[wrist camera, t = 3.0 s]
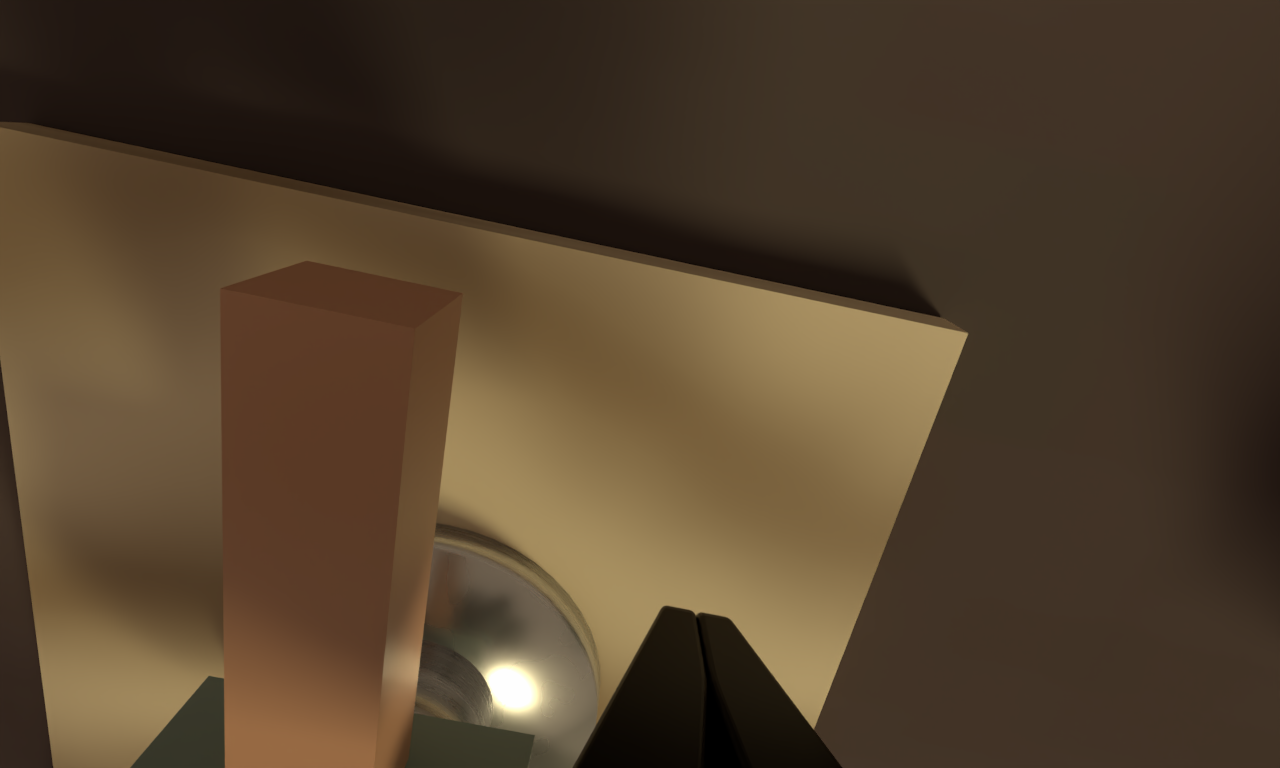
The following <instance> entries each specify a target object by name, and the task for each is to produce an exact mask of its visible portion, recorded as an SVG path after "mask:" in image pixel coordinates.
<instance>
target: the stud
mask: <svg viewBox="0 0 1280 768" xmlns="http://www.w3.org/2000/svg"><path fill="white" fill-rule="evenodd" d="M599 693H600V662H599V657H598V651H597V647H596V644H595V641H594V638H593V635H592V632H591V630H590V628H589V626H588V624H587V622H586V620H585V618H584V616H583V614H582V612H581V611H580V609H579V608H578V606H577V605H576V604H575V602H574V601H573V599H572V598H571V597H570V595H569V594H568V593H567V592H566V591H565V590H564V589H563V588H562V586H561V585H560V584H559V583H558V582H557V581H556V580H555V579H554V578H553V577H552V576H551V575H549V574H548V573H547V572H546V571H545V570H543V569H542V568H541V567H540V566H539V565H538V564H536V563H535V562H533V561H532V560H530V559H529V558H527V557H526V556H524V555H523V554H521V553H520V552H518V551H517V550H515V549H513V548H511V547H509V546H507V545H505V544H503V543H501V542H499V541H497V540H495V539H492V538H489V537H487V536H484V535H481V534H479V533H476V532H473V531H470V530H466V529H462V528H458V527H454V526H450V525H446V524H438V523H436V528H435V537H434V545H433V554H432V562H431V571H430V580H429V588H428V597H427V605H426V614H425V622H424V631H423V639H422V648H421V656H420V665H419V673H418V682H417V691H416V699H415V708H414V713H416V714H421V715H427V716H432V717H438V718H443V719H449V720H454V721H460V722H465V723H471V724H476V725H482V726H487V727H493V728H498V729H504V730H509V731H515V732H520V733H526V734H531V735H535V737H534V742H533V747H532V752H531V757H530V762H529V767H528V768H573V766H574V764H575V762H576V760H577V759H578V757H579V755H580V753H581V751H582V750H583V748H584V746H585V744H586V742H587V741H588V739H589V737H590V735H591V733H592V732H593V730H594V728H595V725H596V719H597V711H598V702H599Z"/></svg>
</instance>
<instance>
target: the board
mask: <svg viewBox="0 0 1280 768" xmlns="http://www.w3.org/2000/svg"><path fill="white" fill-rule="evenodd" d="M304 261H311V262H316V263H321V264H326V265H330V266H335V267H340V268H345V269H350V270H354V271H359V272H364V273H369V274H374V275H378V276H383V277H388V278H393V279H398V280H402V281H407V282H412V283H417V284H422V285H426V286H431V287H436V288H441V289H445V290H450V291H455V292H460V293H463V298H462V306H461V315H460V323H459V332H458V340H457V349H456V358H455V366H454V375H453V383H452V392H451V400H450V409H449V417H448V426H447V434H446V443H445V451H444V460H443V469H442V477H441V486H440V494H439V503H438V511H437V520H436V523H438V524H446V525H450V526H454V527H458V528H462V529H466V530H470V531H473V532H476V533H479V534H481V535H484V536H487V537H489V538H492V539H495V540H497V541H499V542H501V543H503V544H505V545H507V546H509V547H511V548H513V549H515V550H517V551H518V552H520V553H521V554H523V555H524V556H526V557H527V558H529V559H530V560H532V561H533V562H535V563H536V564H538V565H539V566H540V567H541V568H542V569H543V570H545V571H546V572H547V573H548V574H549V575H551V576H552V577H553V578H554V579H555V580H556V581H557V582H558V583H559V584H560V585H561V586H562V588H563V589H564V590H565V591H566V592H567V593H568V594H569V595H570V597H571V598H572V599H573V601H574V602H575V604H576V605H577V606H578V608H579V609H580V611H581V612H582V614H583V616H584V618H585V620H586V622H587V624H588V626H589V628H590V630H591V632H592V635H593V638H594V641H595V644H596V647H597V651H598V657H599V662H600V693H599V702H598V711H597V719H596V724H597V723H598V721H599V719H600V717H601V715H602V714H603V712H604V710H605V708H606V706H607V705H608V703H609V701H610V699H611V697H612V696H613V694H614V692H615V690H616V688H617V687H618V685H619V683H620V681H621V679H622V678H623V676H624V674H625V672H626V670H627V669H628V667H629V665H630V663H631V661H632V660H633V658H634V656H635V654H636V652H637V651H638V649H639V647H640V645H641V643H642V642H643V640H644V638H645V636H646V634H647V633H648V631H649V629H650V627H651V625H652V624H653V622H654V620H655V618H656V616H657V615H658V613H659V611H660V609H661V608H662V607H663V606H673V607H678V608H683V609H688V610H691V611H693V612H694V613H695V615H697V614H698V613H700V612H704V613H709V614H714V615H719V616H725V617H728V618H729V619H731V620H732V621H733V623H734V624H735V625H736V627H737V628H738V629H739V631H740V632H741V633H742V635H743V636H744V637H745V639H746V640H747V641H748V643H749V644H750V645H751V647H752V648H753V649H754V651H755V652H756V653H757V655H758V656H759V657H760V659H761V660H762V661H763V663H764V664H765V665H766V667H767V668H768V669H769V671H770V672H771V673H772V675H773V676H774V677H775V679H776V680H777V681H778V683H779V684H780V685H781V687H782V688H783V689H784V691H785V692H786V693H787V695H788V696H789V697H790V699H791V700H792V701H793V703H794V704H795V705H796V707H797V708H798V709H799V711H800V712H801V713H802V715H803V716H804V717H805V719H806V720H807V721H808V723H809V724H810V725H811V727H812V728H813V729H814V727H815V725H816V722H817V720H818V717H819V715H820V712H821V709H822V707H823V704H824V702H825V699H826V697H827V694H828V692H829V689H830V686H831V684H832V681H833V679H834V676H835V674H836V671H837V668H838V666H839V663H840V661H841V658H842V656H843V653H844V651H845V648H846V645H847V643H848V640H849V638H850V635H851V633H852V630H853V627H854V625H855V622H856V620H857V617H858V615H859V612H860V610H861V607H862V604H863V602H864V599H865V597H866V594H867V592H868V589H869V586H870V584H871V581H872V579H873V576H874V574H875V571H876V568H877V566H878V563H879V561H880V558H881V556H882V553H883V551H884V548H885V545H886V543H887V540H888V538H889V535H890V533H891V530H892V527H893V525H894V522H895V520H896V517H897V515H898V512H899V510H900V507H901V504H902V502H903V499H904V497H905V494H906V492H907V489H908V486H909V484H910V481H911V479H912V476H913V474H914V471H915V469H916V466H917V463H918V461H919V458H920V456H921V453H922V451H923V448H924V445H925V443H926V440H927V438H928V435H929V433H930V430H931V428H932V425H933V422H934V420H935V417H936V415H937V412H938V410H939V407H940V404H941V402H942V399H943V397H944V394H945V392H946V389H947V387H948V384H949V381H950V379H951V376H952V374H953V371H954V369H955V366H956V363H957V361H958V358H959V356H960V353H961V351H962V348H963V346H964V343H965V340H966V338H967V335H968V333H967V332H965V331H964V330H962V329H961V328H959V327H957V326H956V325H954V324H952V323H951V322H949V321H947V320H946V319H944V318H940V317H935V316H931V315H926V314H921V313H917V312H912V311H907V310H903V309H898V308H893V307H889V306H884V305H879V304H875V303H870V302H865V301H860V300H856V299H851V298H846V297H842V296H837V295H832V294H828V293H823V292H818V291H814V290H809V289H804V288H800V287H795V286H790V285H786V284H781V283H776V282H771V281H767V280H762V279H757V278H753V277H748V276H743V275H739V274H734V273H729V272H725V271H720V270H715V269H711V268H706V267H701V266H696V265H692V264H687V263H682V262H678V261H673V260H668V259H664V258H659V257H654V256H650V255H645V254H640V253H636V252H631V251H626V250H622V249H617V248H612V247H607V246H603V245H598V244H593V243H589V242H584V241H579V240H575V239H570V238H565V237H561V236H556V235H551V234H547V233H542V232H537V231H532V230H528V229H523V228H518V227H514V226H509V225H504V224H500V223H495V222H490V221H486V220H481V219H476V218H472V217H467V216H462V215H458V214H453V213H448V212H443V211H439V210H434V209H429V208H425V207H420V206H415V205H411V204H406V203H401V202H397V201H392V200H387V199H383V198H378V197H373V196H368V195H364V194H359V193H354V192H350V191H345V190H340V189H336V188H331V187H326V186H322V185H317V184H312V183H308V182H303V181H298V180H294V179H289V178H284V177H279V176H275V175H270V174H265V173H261V172H256V171H251V170H247V169H242V168H237V167H233V166H228V165H223V164H219V163H214V162H209V161H204V160H200V159H195V158H190V157H186V156H181V155H176V154H172V153H167V152H162V151H158V150H153V149H148V148H144V147H139V146H134V145H129V144H125V143H120V142H115V141H111V140H106V139H101V138H97V137H92V136H87V135H83V134H78V133H73V132H69V131H64V130H59V129H55V128H50V127H45V126H40V125H36V124H31V123H20V122H0V361H1V369H2V376H3V384H4V392H5V399H6V407H7V415H8V423H9V430H10V438H11V446H12V453H13V461H14V469H15V476H16V484H17V492H18V499H19V507H20V515H21V523H22V530H23V538H24V546H25V553H26V561H27V569H28V576H29V584H30V592H31V599H32V607H33V615H34V623H35V630H36V638H37V646H38V653H39V661H40V669H41V676H42V684H43V692H44V699H45V707H46V715H47V723H48V730H49V738H50V746H51V753H52V761H53V768H130V767H131V766H132V765H133V764H134V762H135V761H136V760H137V759H138V758H139V757H140V755H141V754H142V753H143V752H144V751H145V750H146V748H147V747H148V746H149V745H150V744H151V743H152V741H153V740H154V739H155V738H156V737H157V736H158V734H159V733H160V732H161V731H162V730H163V729H164V727H165V726H166V725H167V724H168V723H169V722H170V720H171V719H172V718H173V717H174V716H175V715H176V713H177V712H178V711H179V710H180V709H181V708H182V706H183V705H184V704H185V703H186V702H187V701H188V699H189V698H190V697H191V696H192V695H193V693H194V692H195V691H196V690H197V689H198V688H199V686H200V685H201V684H202V683H203V682H204V681H205V679H206V678H207V677H208V676H213V677H218V678H224V629H223V531H222V434H221V337H220V288H223V287H226V286H229V285H232V284H235V283H238V282H241V281H244V280H248V279H251V278H254V277H257V276H260V275H263V274H266V273H269V272H272V271H276V270H279V269H282V268H285V267H288V266H291V265H294V264H297V263H300V262H304ZM595 726H596V725H595Z"/></svg>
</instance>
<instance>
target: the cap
mask: <svg viewBox="0 0 1280 768" xmlns="http://www.w3.org/2000/svg"><path fill="white" fill-rule="evenodd" d="M462 298H463V293H460V292H455V291H450V290H445V289H441V288H436V287H431V286H426V285H422V284H417V283H412V282H407V281H402V280H398V279H393V278H388V277H383V276H378V275H374V274H369V273H364V272H359V271H354V270H350V269H345V268H340V267H335V266H330V265H326V264H321V263H316V262H311V261H304V262H300V263H297V264H294V265H291V266H288V267H285V268H282V269H279V270H276V271H272V272H269V273H266V274H263V275H260V276H257V277H254V278H251V279H248V280H244V281H241V282H238V283H235V284H232V285H229V286H226V287H223V288H220V337H221V434H222V531H223V629H224V678H218V677H213V676H208V677H207V678H206V679H205V681H204V682H203V683H202V684H201V685H200V686H199V688H198V689H197V690H196V691H195V692H194V693H193V695H192V696H191V697H190V698H189V699H188V701H187V702H186V703H185V704H184V705H183V706H182V708H181V709H180V710H179V711H178V712H177V713H176V715H175V716H174V717H173V718H172V719H171V720H170V722H169V723H168V724H167V725H166V726H165V727H164V729H163V730H162V731H161V732H160V733H159V734H158V736H157V737H156V738H155V739H154V740H153V741H152V743H151V744H150V745H149V746H148V747H147V748H146V750H145V751H144V752H143V753H142V754H141V755H140V757H139V758H138V759H137V760H136V761H135V762H134V764H133V765H132V766H131V767H130V768H528V767H529V762H530V757H531V752H532V747H533V742H534V737H535V735H531V734H526V733H520V732H515V731H509V730H504V729H498V728H493V727H487V726H482V725H476V724H471V723H465V722H460V721H454V720H449V719H443V718H438V717H432V716H427V715H421V714H416V713H414V708H415V699H416V691H417V682H418V673H419V665H420V656H421V648H422V639H423V631H424V622H425V614H426V605H427V597H428V588H429V580H430V571H431V562H432V554H433V545H434V537H435V528H436V520H437V511H438V503H439V494H440V486H441V477H442V469H443V460H444V451H445V443H446V434H447V426H448V417H449V409H450V400H451V392H452V383H453V375H454V366H455V358H456V349H457V340H458V332H459V323H460V315H461V306H462Z"/></svg>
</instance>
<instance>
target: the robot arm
mask: <svg viewBox="0 0 1280 768" xmlns="http://www.w3.org/2000/svg"><path fill="white" fill-rule="evenodd" d="M573 768H842V767H841V765H840V764H839V763H838V761H837V760H836V759H835V757H834V756H833V755H832V753H831V752H830V751H829V749H828V748H827V747H826V745H825V744H824V743H823V741H822V740H821V739H820V737H819V736H818V735H817V733H816V732H815V731H814V729H813V728H812V727H811V725H810V724H809V723H808V721H807V720H806V719H805V717H804V716H803V715H802V713H801V712H800V711H799V709H798V708H797V707H796V705H795V704H794V703H793V701H792V700H791V699H790V697H789V696H788V695H787V693H786V692H785V691H784V689H783V688H782V687H781V685H780V684H779V683H778V681H777V680H776V679H775V677H774V676H773V675H772V673H771V672H770V671H769V669H768V668H767V667H766V665H765V664H764V663H763V661H762V660H761V659H760V657H759V656H758V655H757V653H756V652H755V651H754V649H753V648H752V647H751V645H750V644H749V643H748V641H747V640H746V639H745V637H744V636H743V635H742V633H741V632H740V631H739V629H738V628H737V627H736V625H735V624H734V623H733V621H732V620H731V619H729V618H728V617H725V616H719V615H714V614H709V613H704V612H700V613H698V614H697V615H695V613H694V612H693V611H691V610H688V609H683V608H678V607H673V606H663V607H662V608H661V609H660V611H659V613H658V615H657V616H656V618H655V620H654V622H653V624H652V625H651V627H650V629H649V631H648V633H647V634H646V636H645V638H644V640H643V642H642V643H641V645H640V647H639V649H638V651H637V652H636V654H635V656H634V658H633V660H632V661H631V663H630V665H629V667H628V669H627V670H626V672H625V674H624V676H623V678H622V679H621V681H620V683H619V685H618V687H617V688H616V690H615V692H614V694H613V696H612V697H611V699H610V701H609V703H608V705H607V706H606V708H605V710H604V712H603V714H602V715H601V717H600V719H599V721H598V723H597V724H596V726H595V728H594V730H593V732H592V733H591V735H590V737H589V739H588V741H587V742H586V744H585V746H584V748H583V750H582V751H581V753H580V755H579V757H578V759H577V760H576V762H575V764H574V766H573Z"/></svg>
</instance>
